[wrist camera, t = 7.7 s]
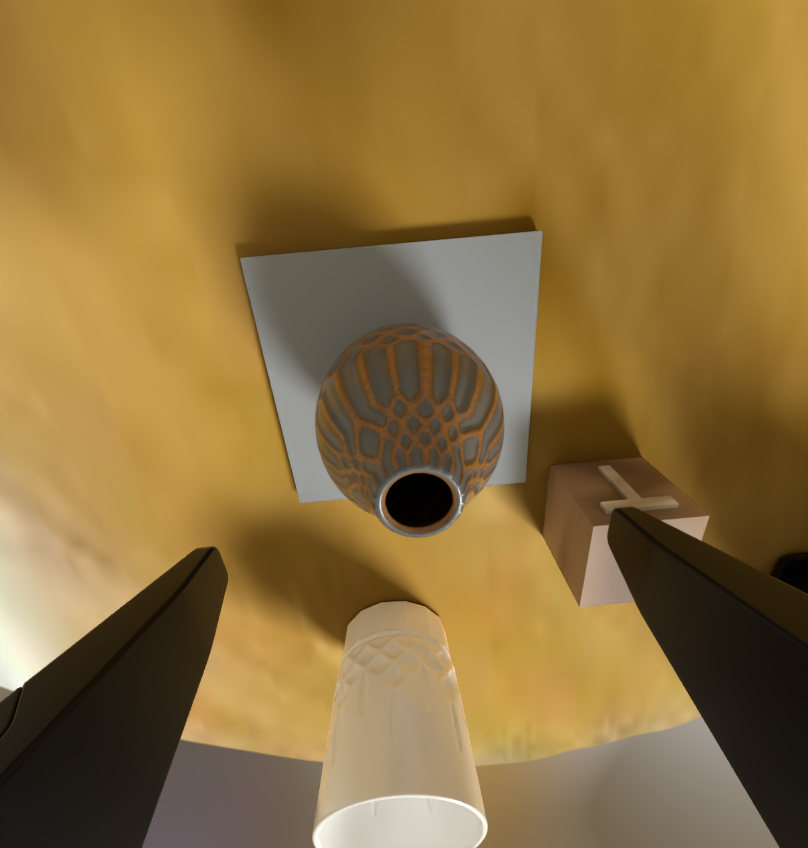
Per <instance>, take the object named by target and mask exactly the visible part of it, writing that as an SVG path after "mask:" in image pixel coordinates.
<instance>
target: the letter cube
mask: <svg viewBox="0 0 808 848" xmlns="http://www.w3.org/2000/svg"><path fill="white" fill-rule="evenodd" d="M627 506H632V507H635V508H637V509H639V510H641V511H643V512H645V513H647V514H649V515H651V516H653V517H655V518H657V519H659V520H661V521H663V522H665V523H667V524H669V525H671V526H673V527H675V528H677V529H679V530H681V531H683V532H685V533H687V534H689V535H691V536H693V537H695V538H697V539H699V540H702V537H703V534H704V531H705V528H706V525H707V522H708V520H709V517H710V516H709V515H708V514H707V513H706V512H705V511H704V510H702V509H701V508H700V507H699V506H698V505H697V504H696V503H694V502H693V501H692V500H691V499H690V498H689V497H688V496H686V495H685V494H684V493H683V492H682V491H681V490H680V489H678V488H677V487H676V486H675V485H674V484H673V483H671V482H670V481H669V480H668V479H667V478H666V477H665V476H663V475H662V474H661V473H660V472H659V471H658V470H657V469H655V468H654V467H653V466H652V465H651V464H650V463H649V462H647V461H646V460H645V459H644V458H643V457H634V458H622V459H611V460H600V461H589V462H578V463H567V464H556V465H550V469H549V479H548V488H547V498H546V508H545V518H544V528H543V538H544V540H545V542H546V544H547V545H548V547H549V549H550V551H551V553H552V555H553V557H554V559H555V561H556V563H557V565H558V567H559V569H560V570H561V572H562V574H563V576H564V578H565V580H566V582H567V584H568V586H569V588H570V590H571V592H572V593H573V595H574V597H575V599H576V601H577V603H578V605H579V607H586V606H596V605H607V604H618V603H629V602H635V601H634V599H633V597H632V595H631V593H630V591H629V589H628V586H627V584H626V582H625V580H624V578H623V576H622V573H621V571H620V569H619V567H618V565H617V563H616V561H615V558H614V556H613V554H612V552H611V550H610V548H609V545H608V541H607V533H608V527H609V522H610V517H611V513H612V511H613V509H614V508H617V507H627Z"/></svg>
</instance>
